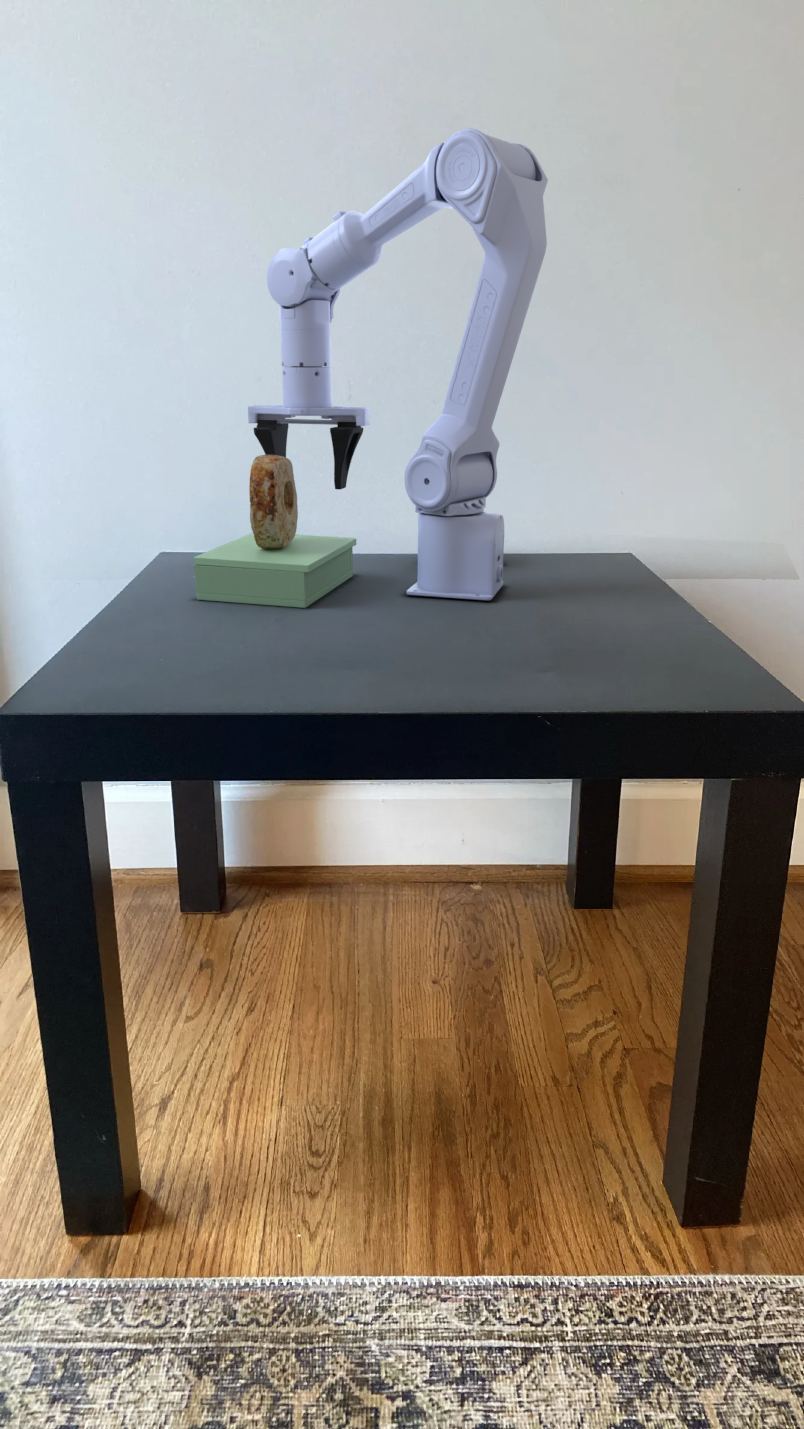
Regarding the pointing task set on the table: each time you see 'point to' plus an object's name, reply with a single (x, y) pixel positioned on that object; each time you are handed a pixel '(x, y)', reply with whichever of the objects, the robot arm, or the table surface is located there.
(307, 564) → the lunchbox lid
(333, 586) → the box
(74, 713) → the table surface
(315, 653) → the table surface
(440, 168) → the robot arm
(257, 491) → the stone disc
